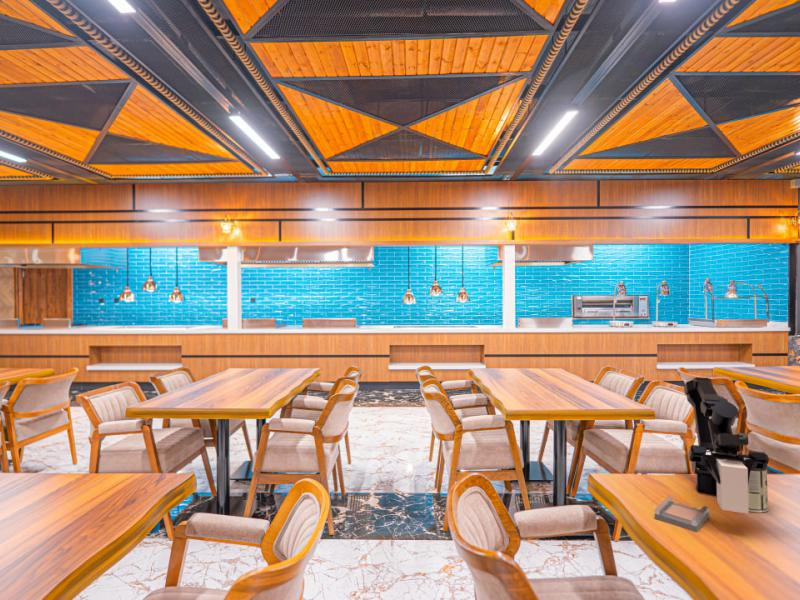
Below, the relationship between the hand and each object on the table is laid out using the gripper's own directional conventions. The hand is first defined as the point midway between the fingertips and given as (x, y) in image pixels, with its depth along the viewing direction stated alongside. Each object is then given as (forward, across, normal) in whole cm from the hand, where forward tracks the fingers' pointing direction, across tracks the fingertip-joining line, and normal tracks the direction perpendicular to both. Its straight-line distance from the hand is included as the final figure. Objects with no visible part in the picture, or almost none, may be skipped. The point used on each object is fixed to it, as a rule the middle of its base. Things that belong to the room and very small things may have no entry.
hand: (733, 484), depth 125 cm
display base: (+6, -12, +13) cm, 19 cm away
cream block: (+4, 0, +6) cm, 7 cm away
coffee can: (-6, +9, +26) cm, 28 cm away
